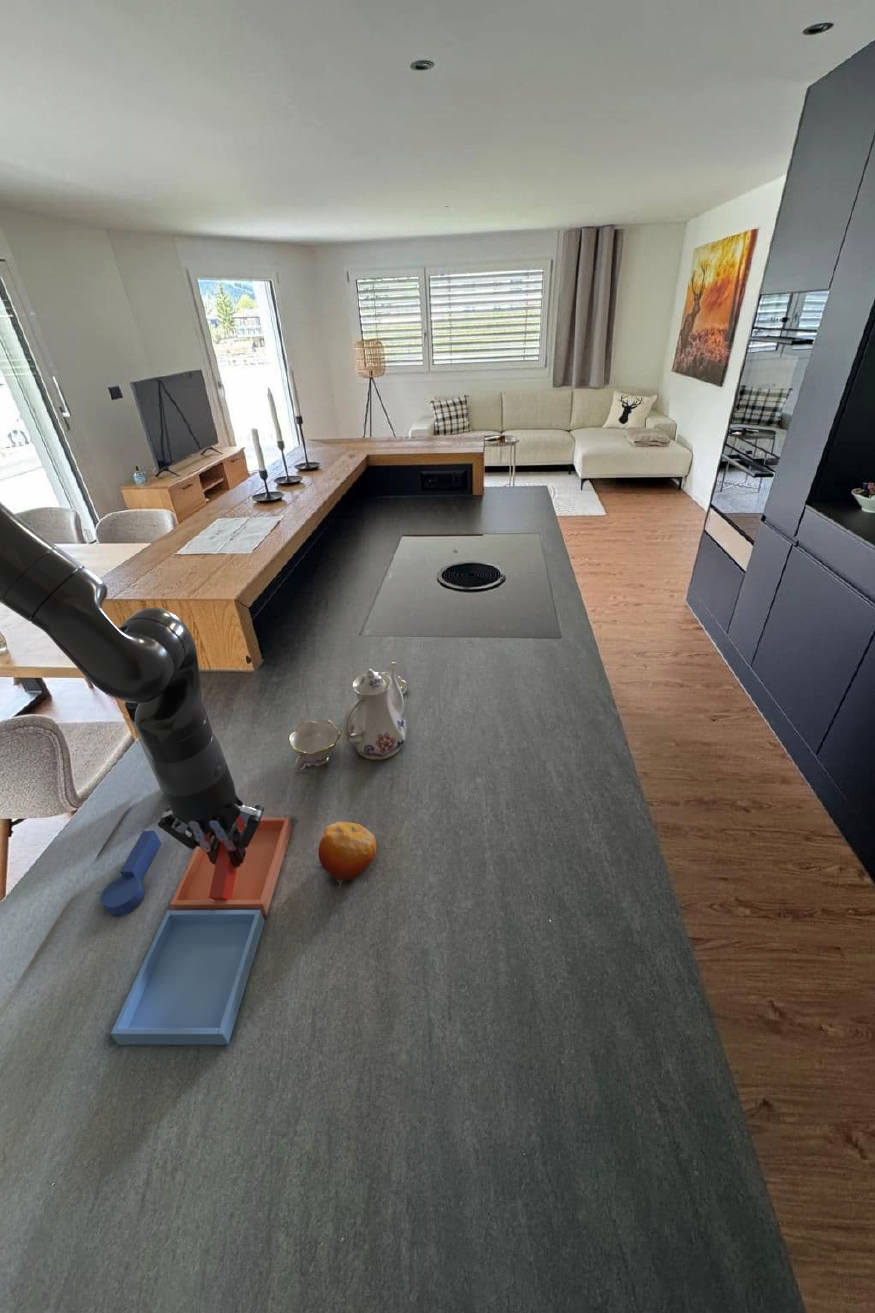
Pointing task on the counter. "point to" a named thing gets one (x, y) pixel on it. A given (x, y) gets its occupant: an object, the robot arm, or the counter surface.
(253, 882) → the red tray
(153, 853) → the blue spoon
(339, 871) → the fruit
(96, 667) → the robot arm
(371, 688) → the chinaware
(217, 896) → the red spoon
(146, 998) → the blue tray
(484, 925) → the counter surface
